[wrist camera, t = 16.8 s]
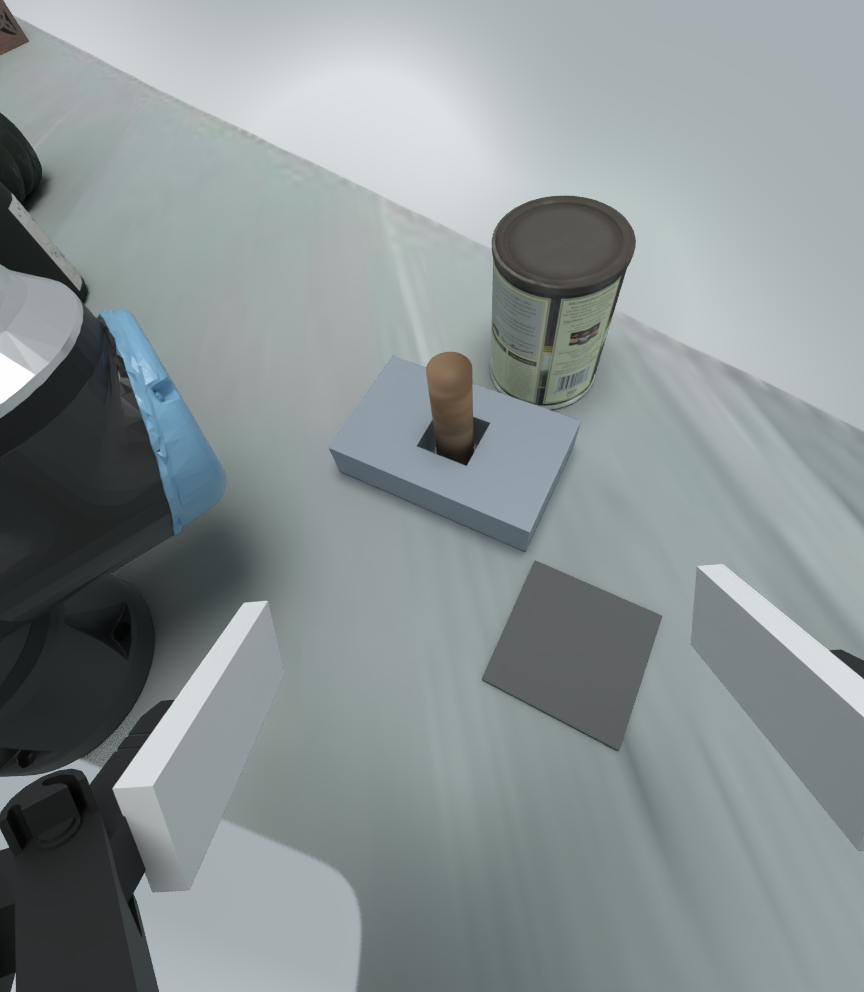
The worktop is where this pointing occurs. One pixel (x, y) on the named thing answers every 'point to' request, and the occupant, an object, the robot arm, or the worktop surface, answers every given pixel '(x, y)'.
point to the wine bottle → (32, 247)
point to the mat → (574, 653)
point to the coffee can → (555, 296)
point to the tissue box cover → (9, 31)
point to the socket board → (445, 483)
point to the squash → (17, 161)
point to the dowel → (452, 405)
